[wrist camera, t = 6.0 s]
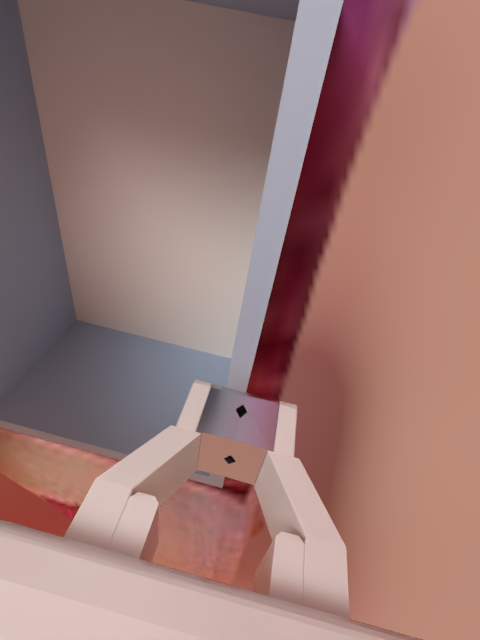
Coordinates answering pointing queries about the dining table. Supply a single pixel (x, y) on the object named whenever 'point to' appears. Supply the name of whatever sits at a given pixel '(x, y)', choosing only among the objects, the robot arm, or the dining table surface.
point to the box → (144, 202)
